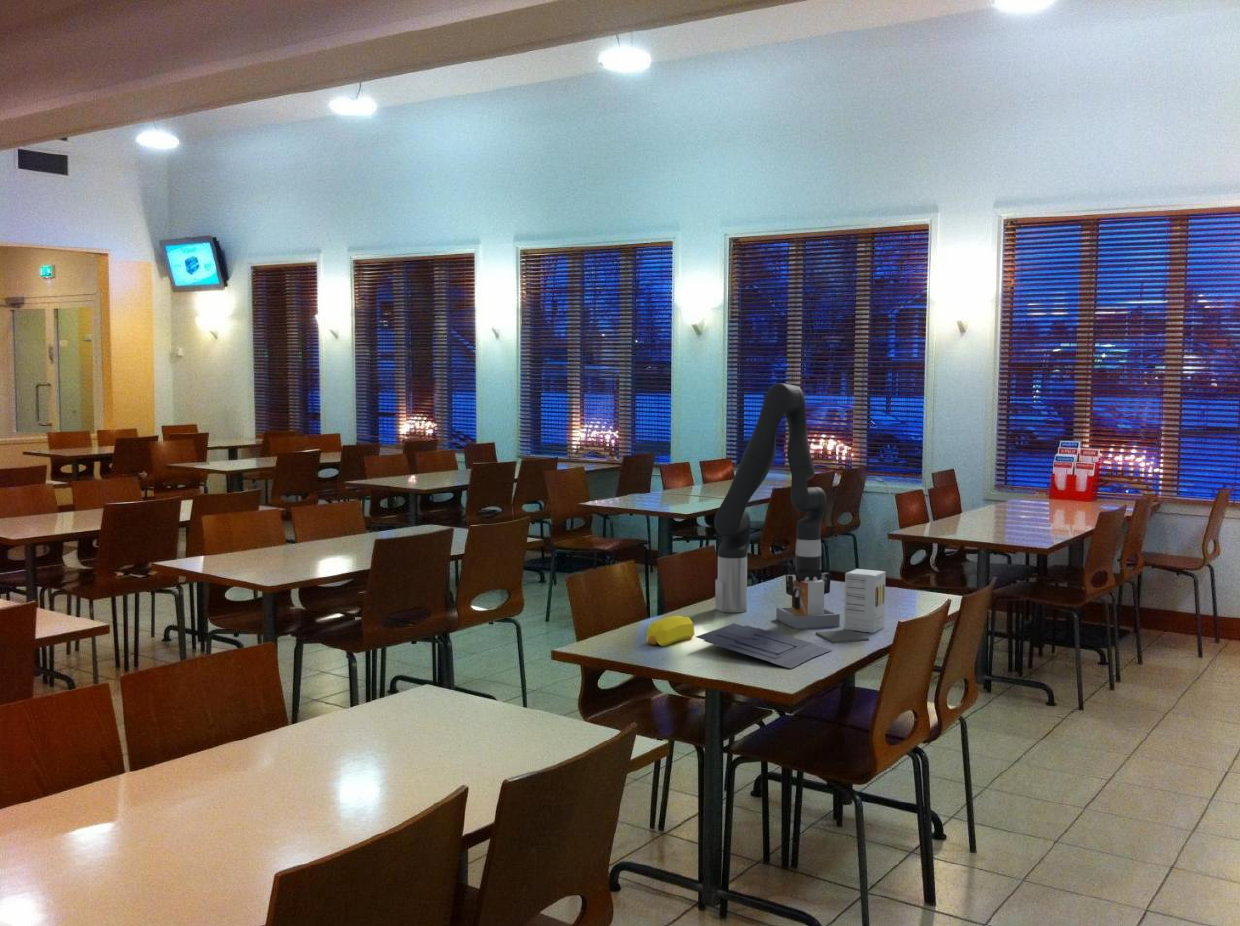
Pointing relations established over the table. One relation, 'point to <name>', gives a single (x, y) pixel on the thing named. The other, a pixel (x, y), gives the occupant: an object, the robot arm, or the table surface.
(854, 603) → the supplement box
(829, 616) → the grey bin
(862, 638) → the charcoal mat
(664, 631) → the yellow faceted capsule
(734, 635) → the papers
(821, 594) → the small box
